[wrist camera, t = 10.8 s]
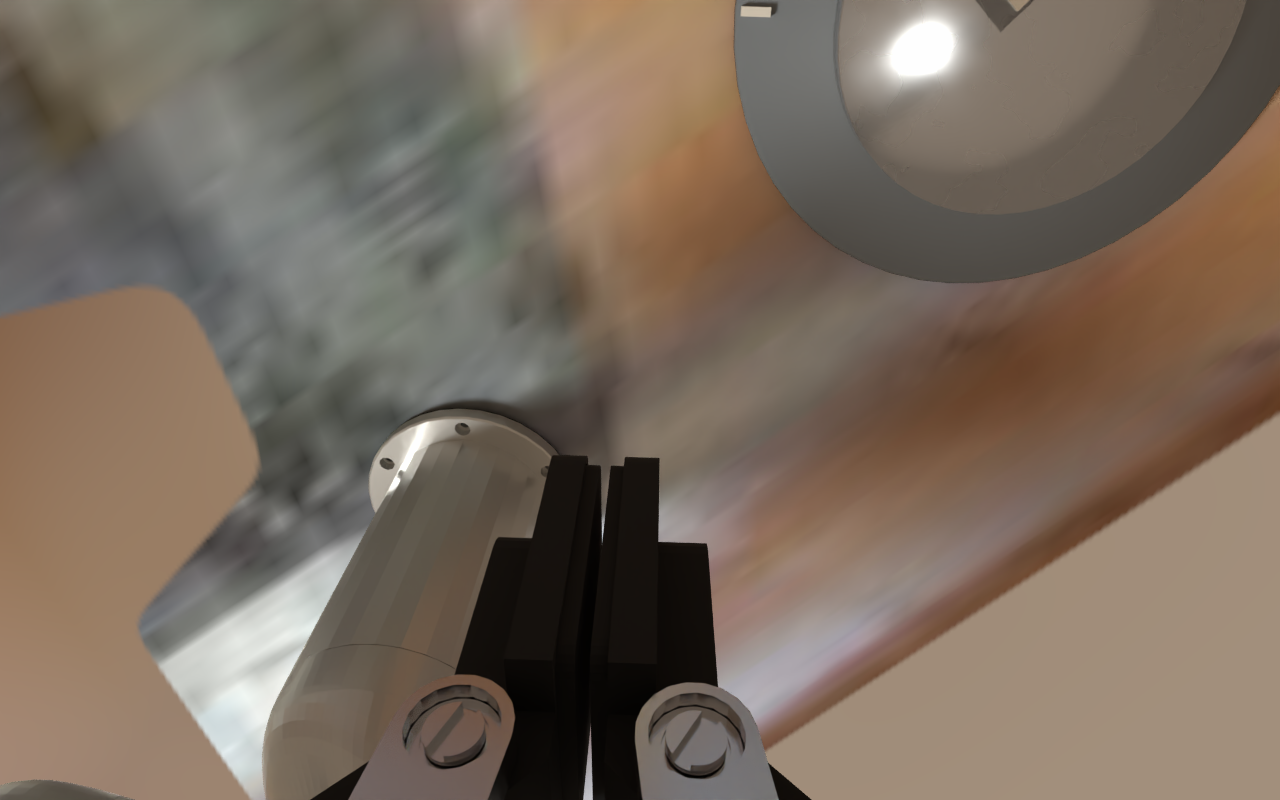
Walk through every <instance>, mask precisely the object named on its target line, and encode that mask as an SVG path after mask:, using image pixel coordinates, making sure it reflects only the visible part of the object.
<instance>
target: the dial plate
mask: <svg viewBox="0 0 1280 800" xmlns="http://www.w3.org/2000/svg"><path fill="white" fill-rule="evenodd" d="M837 2H838V0H736V3H735V17H734V55H735V65H736V75H737V85H738V89H739V94H740V98H741V102H742V107H743V111H744V116H745V120H746V123H747V125H748V128H749V131H750V134H751V136H752V139H753V142H754V144H755V147H756V150H757V152H758V155H759V157H760V159H761V161H762V163H763V164H764V166H765V168H766V170H767V172H768V174H769V176H770V177H771V179H772V181H773V183H774V184H775V186H776V187H777V189H778V190H779V191H780V193H781V194H782V195H783V197H784V198H785V199H786V201H787V202H788V204H789V205H790V206H791V208H792V209H793V210H794V211H795V212H796V213H797V214H798V215H799V216H800V217H801V218H802V219H803V220H804V221H805V222H806V223H807V224H808V225H809V226H810V227H811V228H812V229H813V230H814V231H815V232H817V233H818V234H819V235H821V236H822V237H823V238H825V239H826V240H827V241H828V242H830V243H831V244H832V245H834V246H835V247H836V248H838V249H840V250H842V251H843V252H845V253H847V254H849V255H851V256H852V257H854V258H856V259H858V260H860V261H861V262H863V263H866V264H869V265H871V266H874V267H876V268H879V269H882V270H884V271H887V272H889V273H893V274H897V275H902V276H906V277H910V278H914V279H918V280H926V281H936V282H945V283H980V282H989V281H997V280H1004V279H1012V278H1017V277H1021V276H1025V275H1029V274H1033V273H1037V272H1041V271H1046V270H1049V269H1052V268H1054V267H1057V266H1060V265H1063V264H1066V263H1068V262H1071V261H1074V260H1077V259H1080V258H1082V257H1084V256H1086V255H1088V254H1090V253H1092V252H1095V251H1097V250H1099V249H1101V248H1103V247H1105V246H1107V245H1109V244H1111V243H1113V242H1115V241H1117V240H1119V239H1120V238H1122V237H1124V236H1125V235H1127V234H1129V233H1130V232H1132V231H1134V230H1135V229H1137V228H1139V227H1140V226H1142V225H1144V224H1145V223H1147V222H1148V221H1150V220H1151V219H1152V218H1154V217H1155V216H1156V215H1158V214H1159V213H1161V212H1162V211H1163V210H1165V209H1166V208H1167V207H1169V206H1170V205H1172V204H1173V203H1174V202H1176V201H1177V200H1178V199H1180V198H1181V197H1182V196H1183V195H1184V194H1185V193H1186V192H1187V191H1189V190H1190V189H1191V188H1192V187H1193V186H1194V185H1195V184H1196V183H1198V182H1199V181H1200V180H1201V179H1202V178H1203V177H1204V176H1206V175H1207V174H1208V173H1209V172H1210V171H1211V170H1212V169H1213V168H1214V167H1215V166H1216V165H1217V164H1218V162H1219V161H1220V160H1221V159H1222V158H1223V157H1224V156H1225V155H1226V154H1227V153H1228V152H1229V151H1230V150H1231V149H1232V148H1233V147H1234V146H1235V144H1236V143H1237V142H1238V141H1239V140H1240V139H1241V137H1242V136H1243V135H1244V134H1245V132H1246V131H1247V130H1248V129H1249V127H1250V126H1251V125H1252V123H1253V122H1254V121H1255V120H1256V118H1257V117H1258V116H1259V114H1260V113H1261V112H1262V111H1263V109H1264V108H1265V107H1266V105H1267V104H1268V102H1269V101H1270V99H1271V97H1272V96H1273V94H1274V93H1275V91H1276V90H1277V88H1278V87H1279V85H1280V0H1246V3H1245V7H1244V10H1243V14H1242V17H1241V19H1240V22H1239V24H1238V27H1237V29H1236V32H1235V34H1234V37H1233V39H1232V42H1231V44H1230V46H1229V48H1228V50H1227V52H1226V54H1225V56H1224V58H1223V59H1222V61H1221V63H1220V65H1219V67H1218V69H1217V71H1216V72H1215V74H1214V75H1213V77H1212V78H1211V80H1210V82H1209V83H1208V85H1207V86H1206V88H1205V89H1204V91H1203V92H1202V94H1201V95H1200V97H1199V98H1198V99H1197V100H1196V102H1195V103H1194V104H1193V105H1192V107H1191V108H1190V109H1189V110H1188V112H1187V113H1186V114H1185V115H1184V117H1183V118H1182V119H1181V120H1180V121H1179V122H1178V123H1177V124H1176V125H1175V126H1174V128H1173V129H1172V130H1171V131H1170V132H1169V133H1168V134H1167V135H1166V136H1165V137H1164V138H1163V139H1162V140H1161V141H1160V142H1159V143H1157V144H1156V145H1155V146H1154V147H1153V148H1152V149H1151V150H1149V151H1148V152H1147V153H1146V154H1145V155H1144V156H1142V157H1141V158H1140V159H1139V160H1137V161H1136V162H1135V163H1133V164H1132V165H1130V166H1129V167H1128V168H1126V169H1125V170H1123V171H1122V172H1121V173H1119V174H1118V175H1116V176H1115V177H1113V178H1111V179H1109V180H1108V181H1106V182H1104V183H1102V184H1101V185H1099V186H1097V187H1095V188H1094V189H1092V190H1089V191H1087V192H1085V193H1083V194H1080V195H1078V196H1076V197H1074V198H1072V199H1069V200H1066V201H1063V202H1060V203H1057V204H1054V205H1051V206H1048V207H1045V208H1040V209H1035V210H1031V211H1026V212H1021V213H1010V214H1000V215H994V214H973V213H967V212H960V211H954V210H951V209H948V208H944V207H941V206H938V205H935V204H932V203H930V202H928V201H926V200H924V199H921V198H919V197H917V196H915V195H913V194H912V193H910V192H909V191H907V190H906V189H904V188H903V187H902V186H900V185H899V184H897V183H896V182H895V181H894V180H893V179H892V178H890V177H889V176H888V175H887V174H886V173H885V172H884V171H883V170H882V169H881V168H880V167H879V166H878V165H877V163H876V162H875V161H874V160H873V158H872V157H871V156H870V155H869V153H868V152H867V151H866V150H865V148H864V147H863V146H862V145H861V143H860V142H859V140H858V138H857V136H856V135H855V133H854V131H853V129H852V128H851V126H850V124H849V122H848V119H847V117H846V114H845V112H844V109H843V106H842V104H841V100H840V96H839V92H838V88H837V84H836V78H835V69H834V60H833V31H834V23H835V16H836V8H837Z"/></svg>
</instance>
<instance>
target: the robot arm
mask: <svg viewBox="0 0 1280 800" xmlns="http://www.w3.org/2000/svg"><path fill="white" fill-rule="evenodd" d="M369 494H370V499H371V504H372V507H373V509H374V511H375V513H376V514H375V515H374V517H373V519H372V521H371V523H370V525H369V527H368V528H367V530H366V532H365V534H364V536H363V538H362V540H361V542H360V543H359V545H358V547H357V549H356V551H355V553H354V555H353V557H352V558H351V560H350V562H349V564H348V566H347V568H346V570H345V571H344V573H343V575H342V577H341V579H340V581H339V583H338V585H337V586H336V588H335V590H334V592H333V594H332V596H331V598H330V600H329V601H328V603H327V605H326V607H325V609H324V611H323V613H322V614H321V616H320V618H319V620H318V622H317V624H316V626H315V628H314V629H313V631H312V633H311V635H310V637H309V639H308V641H307V643H306V644H305V646H304V648H303V650H302V652H301V654H300V656H299V658H298V659H297V661H296V663H295V665H294V667H293V669H292V671H291V673H290V675H289V676H288V678H287V680H286V682H285V684H284V686H283V688H282V690H281V692H280V694H279V696H278V698H277V700H276V702H275V704H274V706H273V708H272V711H271V714H270V717H269V720H268V723H267V727H266V731H265V736H264V743H263V752H262V772H263V785H264V791H265V797H266V800H583V795H584V785H585V775H586V765H587V756H588V746H589V736H590V726H591V745H592V782H593V800H811V799H810V798H809V797H808V796H806V795H805V794H804V793H803V792H802V791H801V790H799V789H798V788H797V787H796V786H795V785H793V784H792V783H791V782H790V781H789V780H787V779H786V778H785V777H784V776H783V775H782V774H781V773H779V772H778V771H777V770H776V769H775V768H773V767H772V766H771V765H770V764H769V763H768V761H767V758H766V754H765V751H764V748H763V744H762V741H761V737H760V734H759V731H758V727H757V725H756V723H755V721H754V719H753V717H752V715H751V713H750V711H749V710H748V709H747V708H746V707H745V706H744V705H743V703H742V702H741V701H740V700H739V699H738V698H736V697H735V696H733V695H732V694H730V693H728V692H727V691H725V690H724V689H722V688H719V687H718V681H717V668H716V654H715V640H714V627H713V613H712V599H711V586H710V572H709V558H708V548H707V544H705V543H673V542H658V523H659V458H638V457H625V462H624V466H611V470H610V479H609V488H608V497H607V506H606V515H605V524H604V533H603V542H602V513H601V467H600V466H597V465H588V457H587V456H570V455H559V454H558V453H557V452H556V451H555V449H554V448H553V447H552V446H551V445H550V444H548V443H547V442H546V441H545V440H544V439H543V438H542V437H540V436H539V435H538V434H536V433H535V432H533V431H532V430H530V429H528V428H527V427H525V426H524V425H522V424H520V423H518V422H515V421H513V420H511V419H508V418H506V417H503V416H501V415H497V414H493V413H489V412H485V411H481V410H470V409H448V410H438V411H434V412H430V413H426V414H422V415H420V416H418V417H416V418H413V419H411V420H409V421H407V422H405V423H404V424H402V425H401V426H400V427H398V428H397V429H396V430H395V431H393V432H392V433H391V434H390V435H389V437H388V438H387V439H386V440H385V442H384V443H383V444H382V445H381V447H380V449H379V451H378V452H377V454H376V456H375V458H374V460H373V463H372V466H371V470H370V473H369ZM0 800H133V799H130V798H127V797H123V796H120V795H117V794H113V793H110V792H106V791H103V790H99V789H95V788H91V787H86V786H82V785H77V784H72V783H67V782H60V781H53V780H28V781H18V782H11V783H7V784H4V785H0Z"/></svg>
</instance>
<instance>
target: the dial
mask: <svg viewBox="0 0 1280 800" xmlns="http://www.w3.org/2000/svg"><path fill="white" fill-rule="evenodd" d="M1245 3H1246V0H838V2H837V8H836V16H835V23H834V31H833V60H834V69H835V78H836V84H837V88H838V92H839V96H840V100H841V104H842V106H843V109H844V112H845V114H846V117H847V119H848V122H849V124H850V126H851V128H852V129H853V131H854V133H855V135H856V136H857V138H858V140H859V142H860V143H861V145H862V146H863V147H864V148H865V150H866V151H867V152H868V153H869V155H870V156H871V157H872V158H873V160H874V161H875V162H876V163H877V165H878V166H879V167H880V168H881V169H882V170H883V171H884V172H885V173H886V174H887V175H888V176H889V177H890V178H892V179H893V180H894V181H895V182H896V183H897V184H899V185H900V186H902V187H903V188H904V189H906V190H907V191H909V192H910V193H912V194H913V195H915V196H917V197H919V198H921V199H924V200H926V201H928V202H930V203H932V204H935V205H938V206H941V207H944V208H948V209H951V210H954V211H960V212H967V213H973V214H994V215H1000V214H1010V213H1021V212H1026V211H1031V210H1035V209H1040V208H1045V207H1048V206H1051V205H1054V204H1057V203H1060V202H1063V201H1066V200H1069V199H1072V198H1074V197H1076V196H1078V195H1080V194H1083V193H1085V192H1087V191H1089V190H1092V189H1094V188H1095V187H1097V186H1099V185H1101V184H1102V183H1104V182H1106V181H1108V180H1109V179H1111V178H1113V177H1115V176H1116V175H1118V174H1119V173H1121V172H1122V171H1123V170H1125V169H1126V168H1128V167H1129V166H1130V165H1132V164H1133V163H1135V162H1136V161H1137V160H1139V159H1140V158H1141V157H1142V156H1144V155H1145V154H1146V153H1147V152H1148V151H1149V150H1151V149H1152V148H1153V147H1154V146H1155V145H1156V144H1157V143H1159V142H1160V141H1161V140H1162V139H1163V138H1164V137H1165V136H1166V135H1167V134H1168V133H1169V132H1170V131H1171V130H1172V129H1173V128H1174V126H1175V125H1176V124H1177V123H1178V122H1179V121H1180V120H1181V119H1182V118H1183V117H1184V115H1185V114H1186V113H1187V112H1188V110H1189V109H1190V108H1191V107H1192V105H1193V104H1194V103H1195V102H1196V100H1197V99H1198V98H1199V97H1200V95H1201V94H1202V92H1203V91H1204V89H1205V88H1206V86H1207V85H1208V83H1209V82H1210V80H1211V78H1212V77H1213V75H1214V74H1215V72H1216V71H1217V69H1218V67H1219V65H1220V63H1221V61H1222V59H1223V58H1224V56H1225V54H1226V52H1227V50H1228V48H1229V46H1230V44H1231V42H1232V39H1233V37H1234V34H1235V32H1236V29H1237V27H1238V24H1239V22H1240V19H1241V17H1242V14H1243V10H1244V7H1245Z"/></svg>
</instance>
